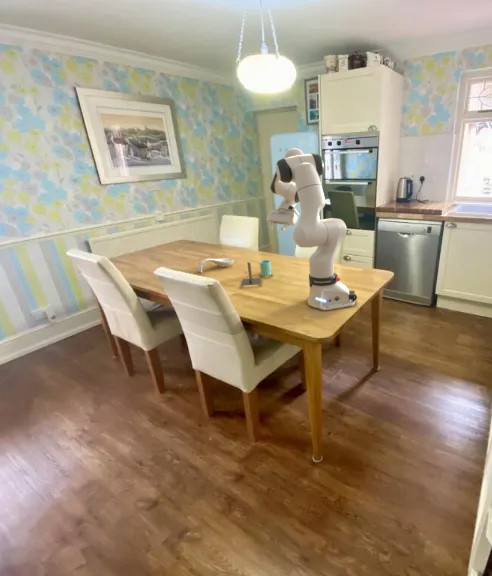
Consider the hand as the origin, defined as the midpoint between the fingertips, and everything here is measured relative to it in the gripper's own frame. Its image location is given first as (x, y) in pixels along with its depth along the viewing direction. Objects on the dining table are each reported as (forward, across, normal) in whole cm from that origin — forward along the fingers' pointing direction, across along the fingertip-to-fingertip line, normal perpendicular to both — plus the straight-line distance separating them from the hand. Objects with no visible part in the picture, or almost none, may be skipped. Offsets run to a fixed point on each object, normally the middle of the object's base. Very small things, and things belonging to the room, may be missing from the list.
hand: (276, 229), depth 187 cm
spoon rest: (+30, -38, +6) cm, 49 cm away
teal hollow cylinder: (+27, 0, +9) cm, 28 cm away
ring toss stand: (+36, +1, 0) cm, 36 cm away
